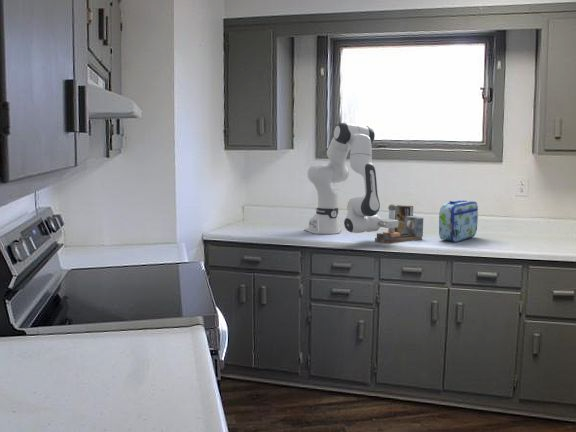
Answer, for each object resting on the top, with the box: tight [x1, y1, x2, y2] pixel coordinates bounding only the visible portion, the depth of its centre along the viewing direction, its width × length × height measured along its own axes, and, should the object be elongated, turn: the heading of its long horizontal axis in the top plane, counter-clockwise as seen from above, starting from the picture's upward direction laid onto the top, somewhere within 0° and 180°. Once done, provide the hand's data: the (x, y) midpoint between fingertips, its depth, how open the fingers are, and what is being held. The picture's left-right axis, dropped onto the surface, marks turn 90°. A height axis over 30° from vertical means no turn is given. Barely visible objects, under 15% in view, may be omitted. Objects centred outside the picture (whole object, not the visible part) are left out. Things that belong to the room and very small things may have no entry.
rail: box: [374, 215, 424, 244], centre depth 331 cm, size 10×25×12 cm, turn 122°
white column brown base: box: [382, 203, 400, 237], centre depth 327 cm, size 7×6×16 cm
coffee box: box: [395, 204, 414, 234], centre depth 348 cm, size 9×6×16 cm
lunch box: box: [438, 199, 479, 243], centre depth 333 cm, size 26×11×21 cm, turn 134°
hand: (392, 220), depth 328 cm, fingers closed on white column brown base, 3 cm apart
